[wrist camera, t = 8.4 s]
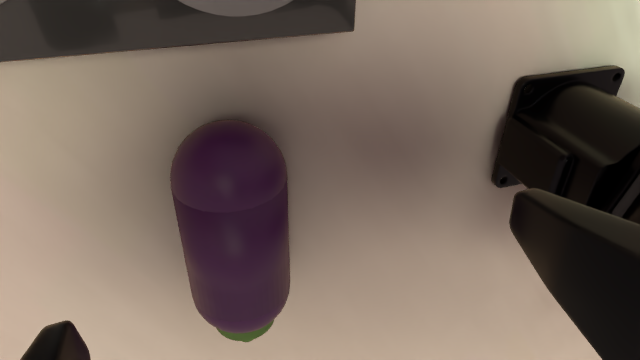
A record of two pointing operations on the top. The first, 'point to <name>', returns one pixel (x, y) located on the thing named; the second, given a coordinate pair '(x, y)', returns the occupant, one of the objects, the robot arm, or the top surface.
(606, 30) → the top surface
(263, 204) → the eggplant
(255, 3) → the burners
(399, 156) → the top surface
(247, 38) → the stove
